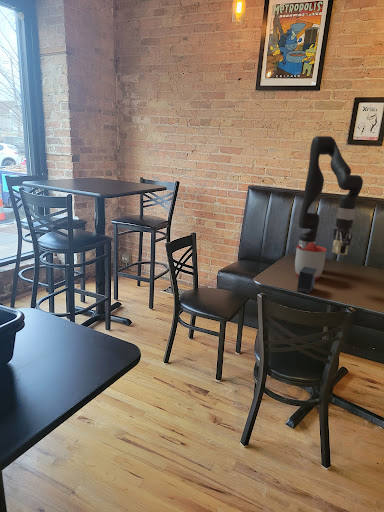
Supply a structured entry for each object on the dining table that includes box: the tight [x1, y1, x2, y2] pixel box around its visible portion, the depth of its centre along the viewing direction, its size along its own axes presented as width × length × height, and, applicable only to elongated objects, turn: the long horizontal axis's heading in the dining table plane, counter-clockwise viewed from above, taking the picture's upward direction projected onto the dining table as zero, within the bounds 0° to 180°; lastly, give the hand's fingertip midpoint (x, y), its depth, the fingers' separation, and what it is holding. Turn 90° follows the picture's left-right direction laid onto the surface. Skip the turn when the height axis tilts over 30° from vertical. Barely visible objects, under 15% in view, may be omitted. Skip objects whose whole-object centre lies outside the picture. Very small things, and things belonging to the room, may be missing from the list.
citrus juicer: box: [294, 242, 327, 281], centre depth 195 cm, size 16×17×20 cm
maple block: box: [331, 240, 349, 255], centre depth 175 cm, size 5×5×6 cm
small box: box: [296, 267, 317, 295], centre depth 176 cm, size 11×6×10 cm, turn 150°
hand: (339, 251), depth 176 cm, fingers closed on maple block, 5 cm apart
